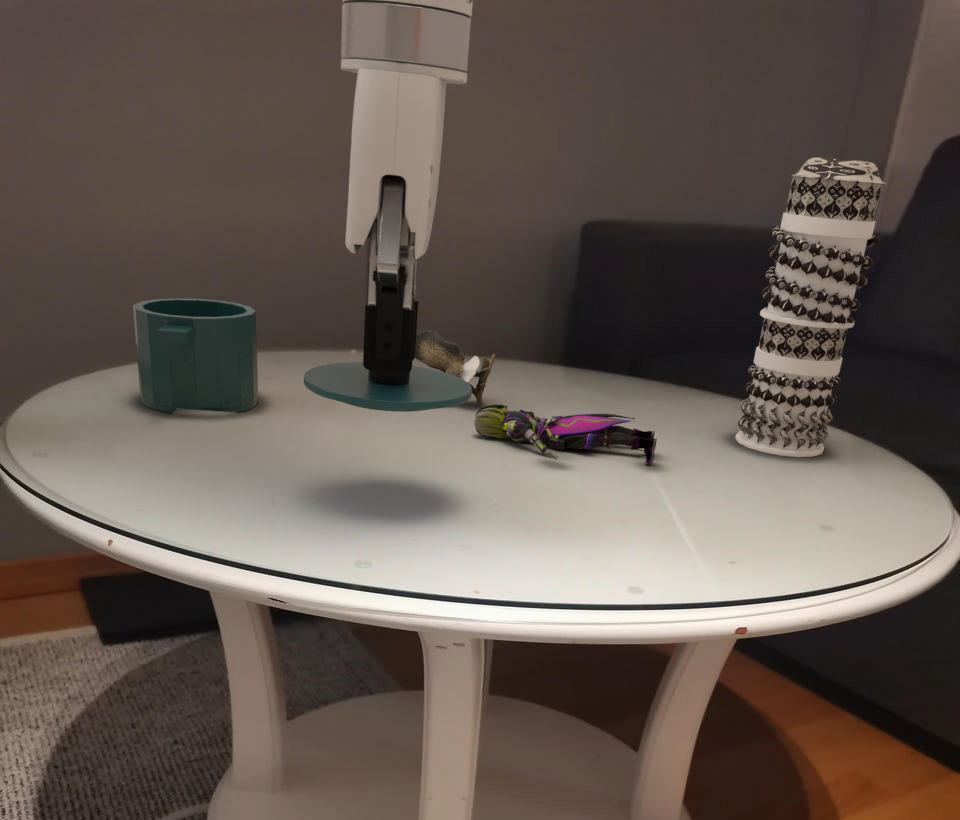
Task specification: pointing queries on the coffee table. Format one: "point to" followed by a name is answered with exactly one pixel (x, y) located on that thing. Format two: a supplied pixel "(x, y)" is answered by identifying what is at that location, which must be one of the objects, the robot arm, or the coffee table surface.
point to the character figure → (563, 430)
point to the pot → (196, 354)
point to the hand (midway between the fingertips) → (389, 362)
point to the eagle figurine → (452, 360)
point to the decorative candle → (809, 305)
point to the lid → (387, 387)
